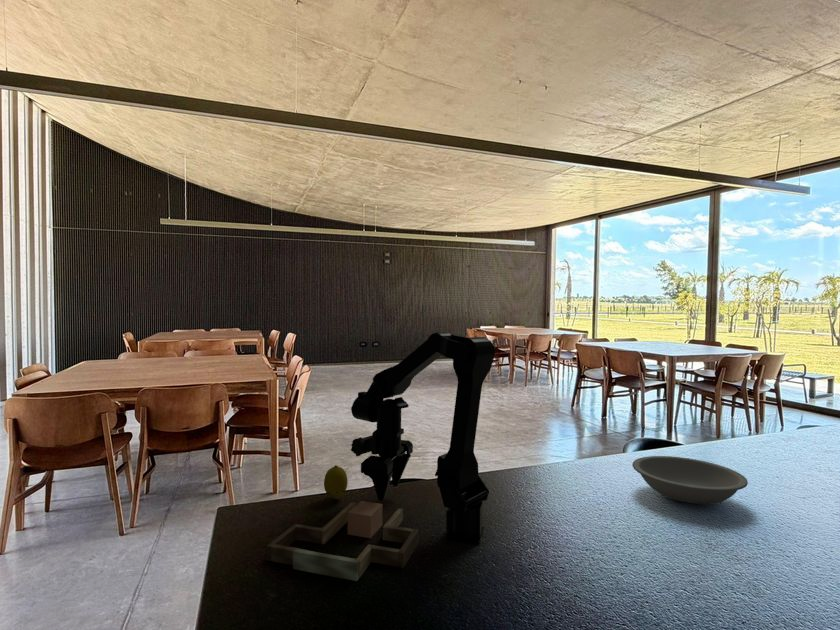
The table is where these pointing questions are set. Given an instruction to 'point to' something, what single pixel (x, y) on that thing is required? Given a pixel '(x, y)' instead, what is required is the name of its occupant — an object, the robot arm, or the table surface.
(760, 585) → the table surface
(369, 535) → the block
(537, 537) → the table surface
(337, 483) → the lemon
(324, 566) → the box
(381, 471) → the robot arm
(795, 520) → the table surface
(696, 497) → the soup bowl
